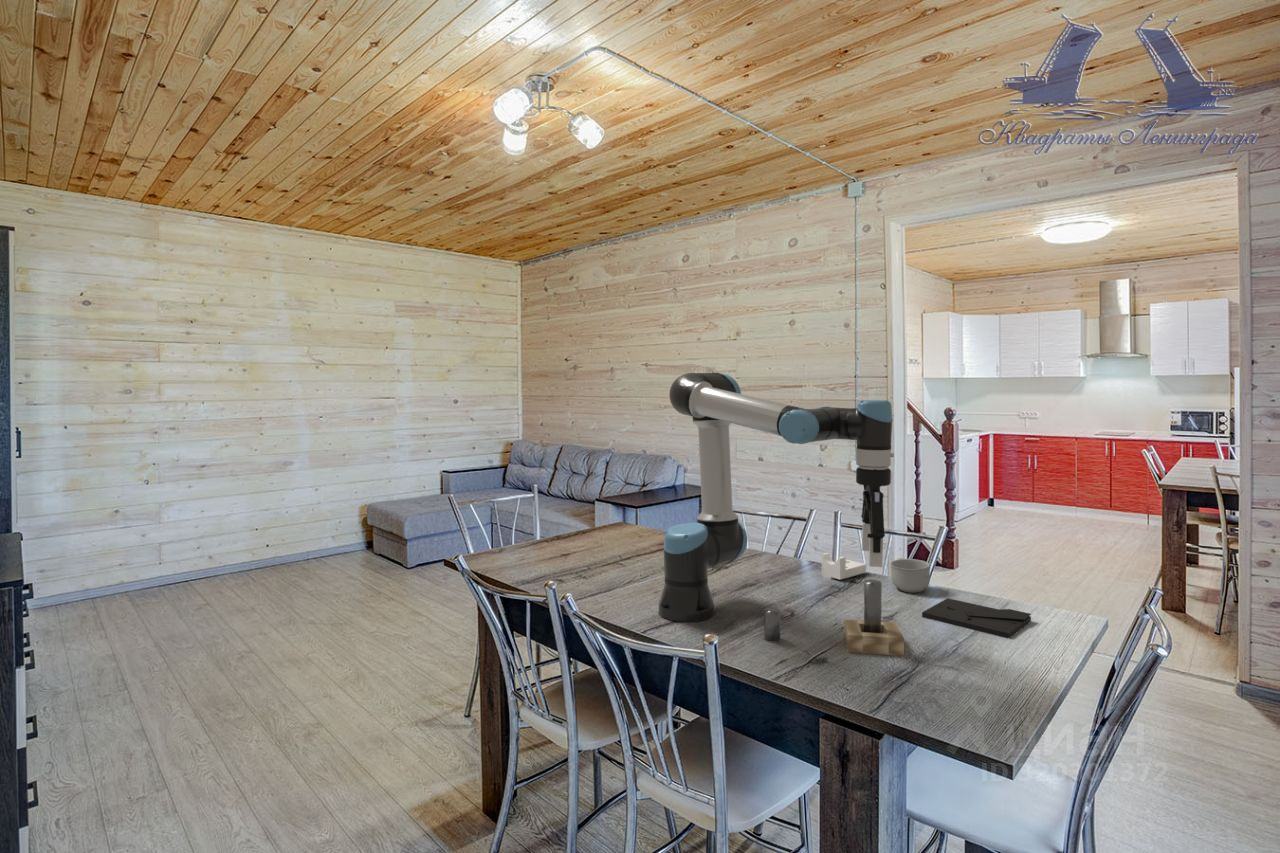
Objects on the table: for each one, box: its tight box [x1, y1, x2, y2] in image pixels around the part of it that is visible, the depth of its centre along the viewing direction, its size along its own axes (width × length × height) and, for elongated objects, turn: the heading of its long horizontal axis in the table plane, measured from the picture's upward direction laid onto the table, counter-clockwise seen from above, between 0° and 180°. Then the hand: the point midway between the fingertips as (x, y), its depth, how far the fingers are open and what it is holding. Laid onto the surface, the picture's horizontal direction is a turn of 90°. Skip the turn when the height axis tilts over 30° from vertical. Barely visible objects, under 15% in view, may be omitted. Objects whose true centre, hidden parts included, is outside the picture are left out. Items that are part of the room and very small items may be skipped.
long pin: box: [863, 579, 883, 633], centre depth 154 cm, size 4×4×15 cm
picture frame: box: [921, 597, 1032, 639], centre depth 170 cm, size 16×3×21 cm
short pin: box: [763, 607, 781, 642], centre depth 159 cm, size 4×4×7 cm
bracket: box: [821, 552, 867, 581], centre depth 210 cm, size 13×7×8 cm, turn 125°
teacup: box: [889, 557, 931, 594], centre depth 196 cm, size 14×11×8 cm
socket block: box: [843, 619, 905, 656], centre depth 154 cm, size 12×10×4 cm
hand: (871, 558), depth 153 cm, fingers open, 13 cm apart
